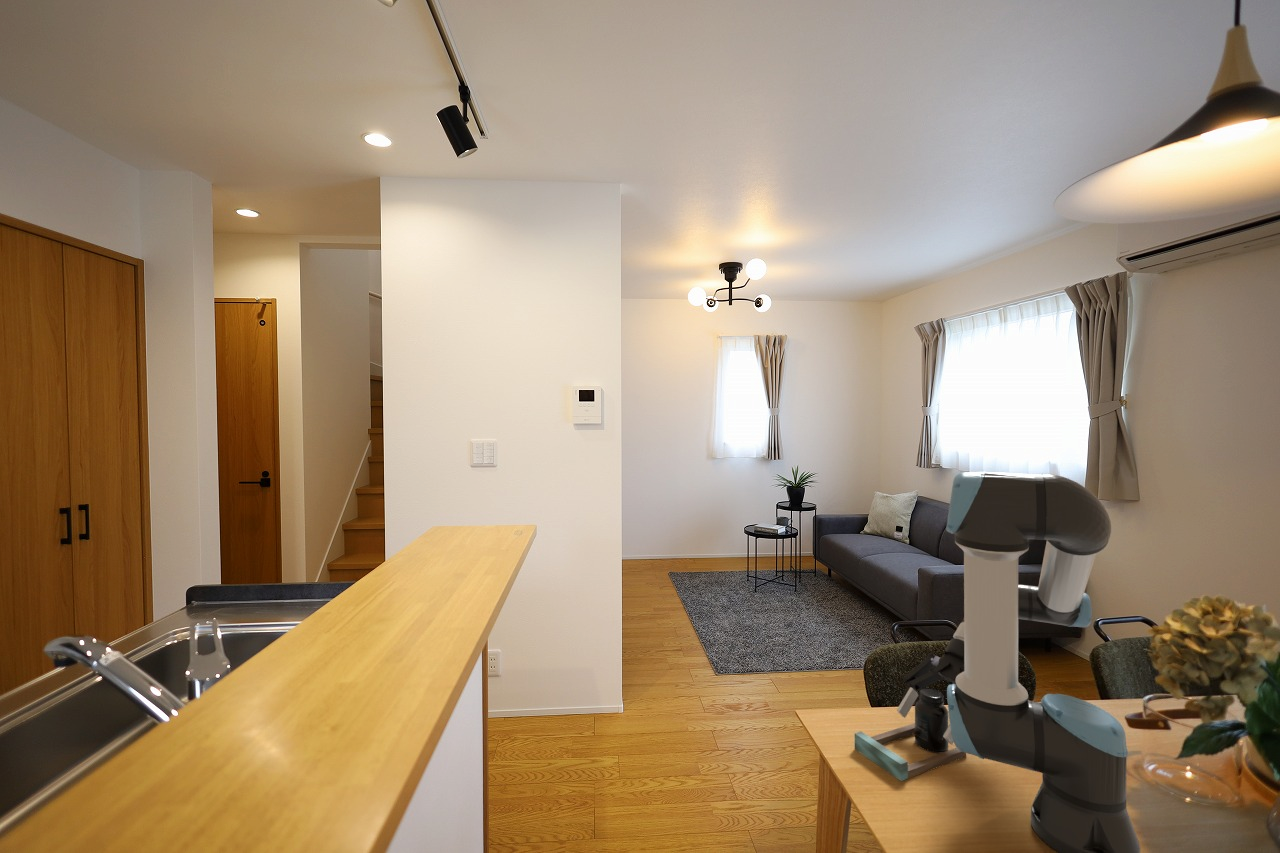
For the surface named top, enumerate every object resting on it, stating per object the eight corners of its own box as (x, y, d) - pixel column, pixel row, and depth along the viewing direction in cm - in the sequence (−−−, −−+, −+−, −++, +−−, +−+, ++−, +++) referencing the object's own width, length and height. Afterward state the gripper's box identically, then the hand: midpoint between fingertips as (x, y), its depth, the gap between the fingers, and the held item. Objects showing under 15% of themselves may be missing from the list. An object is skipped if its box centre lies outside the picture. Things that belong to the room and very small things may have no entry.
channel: (966, 756, 122) (966, 740, 122) (900, 781, 114) (900, 764, 114) (917, 728, 134) (917, 713, 134) (854, 748, 126) (854, 733, 126)
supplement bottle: (953, 755, 123) (952, 701, 123) (919, 752, 124) (919, 698, 124) (942, 738, 129) (942, 687, 129) (911, 735, 131) (911, 684, 131)
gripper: (1027, 677, 122) (981, 764, 116) (932, 639, 144) (888, 711, 138) (1012, 657, 120) (964, 745, 114) (917, 621, 142) (872, 694, 135)
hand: (923, 727), depth 126 cm, fingers open, 11 cm apart
